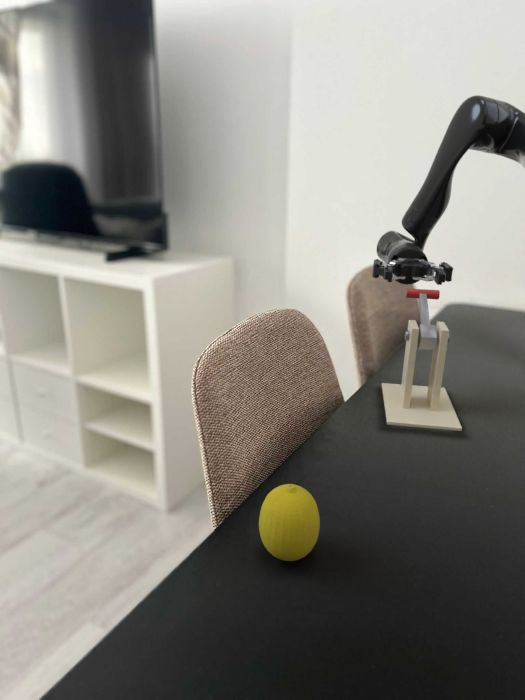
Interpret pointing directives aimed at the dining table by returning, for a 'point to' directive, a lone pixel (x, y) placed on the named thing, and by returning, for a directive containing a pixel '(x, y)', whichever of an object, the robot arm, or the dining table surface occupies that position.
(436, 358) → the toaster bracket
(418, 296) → the lever
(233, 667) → the dining table surface
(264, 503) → the lemon
